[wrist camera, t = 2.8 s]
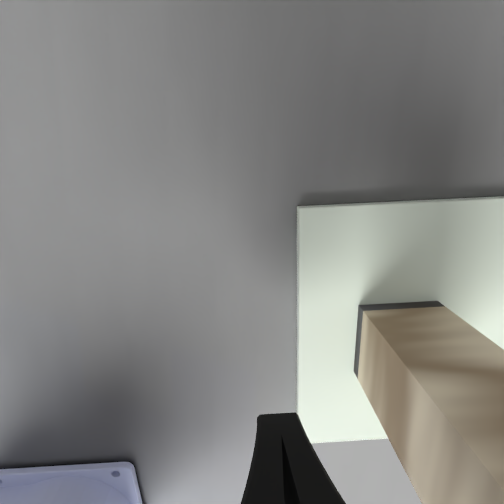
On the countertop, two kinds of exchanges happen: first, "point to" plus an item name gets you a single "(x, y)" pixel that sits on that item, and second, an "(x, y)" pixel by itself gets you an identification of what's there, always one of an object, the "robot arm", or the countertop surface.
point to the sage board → (385, 290)
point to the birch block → (435, 398)
